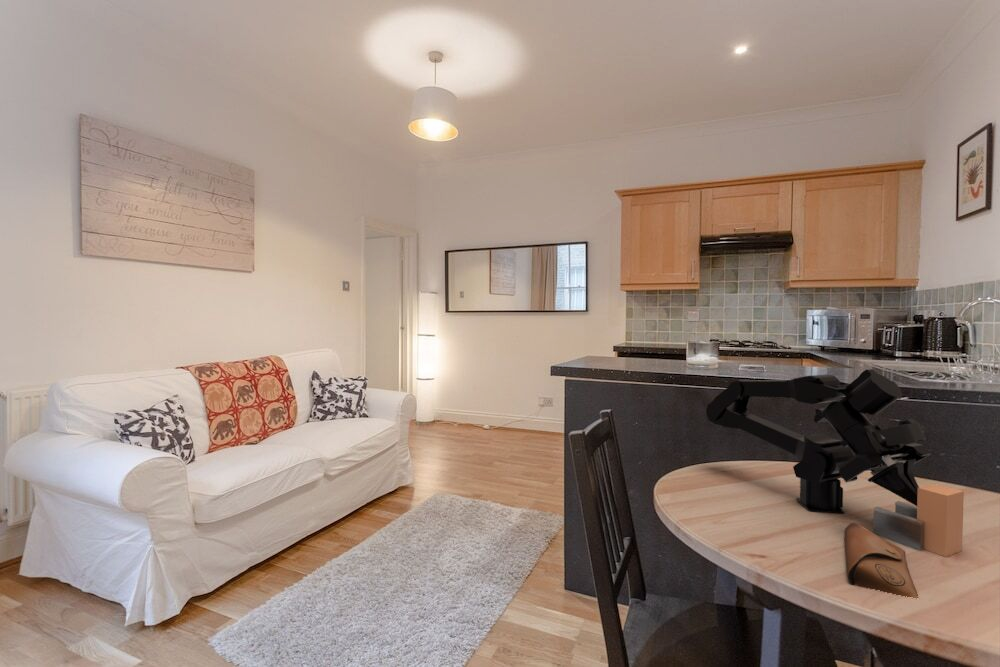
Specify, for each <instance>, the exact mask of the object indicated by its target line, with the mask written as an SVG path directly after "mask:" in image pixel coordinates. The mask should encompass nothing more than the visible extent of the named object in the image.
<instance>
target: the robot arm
mask: <svg viewBox="0 0 1000 667" xmlns="http://www.w3.org/2000/svg"><path fill="white" fill-rule="evenodd" d="M752 397H757V398H759V397H762V398H786V399H791V400H794V401H796V402H801V403H805V404H809V405H810V404H811V405H817V404H825V403H826V404H827V403H829V404H828V405H826V406H825V407H824V408H823V407H822V408H821V407H820V408H815V410H814V411H815V414H814V418H813V422H814V423H821V422H822V423H823V422H828V423H829V425H830V426H831V427H832V428H833V429H834V430H835V432H836V433H837V434H838V436H840V437H841V439H842V440H841V439H835V438H833V437H831V436H830V435H828V434H825V433H823V432H822V433H815V434H810V435H809V434H808V435H803V434H800V433H798V432H796V431H793V430H791V429H789V428H786V427H784V426H781V425H779V424H776V423H774V422H772V421H769V420H767V419H766V418H765V419H764V418H763V417H759V416H758V415H755V414H753V413H752V412H750V410H749V409H748V407H749V405H750V402H751V398H752ZM842 397H843V398H842ZM901 397H903V392H902V389H901V387H899V385H898V384H897V383H896V382H895V381H893V380H891V379H889V378H888V377H886V376H884V375H883V374H879V373H877V372H876V371H875V369H870V368H869V369H865V370H863V371H862V372H861V373H860V374H859V375H858V376H857V378H855V379H854V380H853V381H852V382H850V383H849V382H843V381H840V380H839V378H837V377H836V376H835V375H833V374H814V375H805V376H800V377H795V378H791V379H788V380H787V379H786V380H785V379H784V380H780V379H779V380H778V379H776V380H775V379H774V380H773V379H771V380H767V379H766V380H764V379H763V380H762V379H761V380H750V379H735V380H733V381H731V382H730V383H729V385H728V386H727V387H726V389H724V390H723V391H722V392H720V393H719V394H718V395H717V396H715V397H714V398H713V399H712V401H711V402H709V403H708V404H707V405H706V411H705V412H706V413H705V414H706V416H707V420H708V422H710V423H711V424H713V425H715V426H719V427H723V428H730V429H736V430H740V431H742V432H745V433H747V434H749V435H751V436H752V437H755V438H757V439H760V440H761V441H764V442H766V443H767V444H770V445H772V446H775V447H776V448H778V449H781V450H783V451H786V452H788V453H790V454H792V455H793V456H795V457H796V458H797V460H798V461H799V462H798V463H796V464H795V465H793V467H792V468H793V471H794V475H795V477H796V478H798V479H799V480H800V481H799V497H796V502H798V503H799V504H800V505H801V506H802V507H803V508H805V509H806V510H807V511H808V512H812V513H827V514H839V515H844V514H845V511H844V510H843V509H842V508H843V507H844V488H843V487H842V485H841V482H842V481H841V479H843V481H844V482H845V483H850V482H855V481H857V480H858V476H859V475H862V474H863V473H864V472H867V471H870V474H871V475H872V476H870V477H869V478H868V479H867V481H868V482H869V483H874V484H875V485H877V486H879V487H881V488H882V489H885V490H886V491H889V492H890V493H892V494H894V495H896V496H898V497H900V498H901V499H903V500H905V501H907V502H908V503H909V504H911V505H914V506H917V494H918V488H919V485H918V482H917V480H916V478H915V475H914V472H913V471H914V466H915V464H917V463H919V462H921V461H922V460H923V459H926V458H927V457H929V456H930V455H931V454H932V452H931V451H930V450H929V449H928V448H927V447H926V446H925V445H924V444H921V443H918V442H924V441H927V439H926V437H925V432H926V430H927V429H926V427H925V426H922V425H921V422H917V421H916V420H915V419H914V418H907V419H904V420H899V422H898V425H897V426H893V427H888V428H885V427H884V425H882V424H879V423H878V424H874V423H872V421H870V420H869V418H868V417H867V416H866V414H867V415H871V416H876V415H877V414H879V413H880V412H882V411H883V410H885V409H886V408H887V407H889V406H890V405H892V404H893V403H895V402H896V401H897V400H899V399H900V398H901ZM840 398H842V399H841V400H839V399H840ZM838 400H839V401H838ZM854 454H855V455H854Z"/></svg>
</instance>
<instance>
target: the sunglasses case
mask: <svg viewBox="0 0 1000 667" xmlns="http://www.w3.org/2000/svg"><path fill="white" fill-rule="evenodd" d="M843 535H844V548H845V562H846V575H847V578H848V580H849V581H850V583H851V584H852V586H856V587H860V588H865V589H868V588H870V589H869V590H872V589H875V590H874V591H877V590H880V591H879V592H881V591H883V592H882V593H885V592H887V593H886V594H889V593H892V594H891V595H894V594H896V595H895V596H898V595H901V596H900V597H903V596H905V597H904V598H908V597H913V598H916V599H917V598H919V594H918V592H917V589H916V586H915V583H914V582H913V579H912V576H911V573H910V569H909V566H908V562H907V559H906V551H905V550H904V549H903V548H902V547H899V546H898V545H896V544H894V543H891V542H890V541H887V539H886V540H885V538H883V537H881V536H878V535H875V534H874V533H873V532H872V531H871V530H869V529H868V528H866V527H864V526H862V525H861V524H858V523H856V522H852V523H850V524H848V525H846V527H845V528H844V533H843ZM906 596H907V597H906ZM913 598H912V599H913ZM916 599H915V600H916Z"/></svg>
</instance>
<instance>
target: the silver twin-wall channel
mask: <svg viewBox="0 0 1000 667" xmlns="http://www.w3.org/2000/svg"><path fill="white" fill-rule="evenodd" d="M894 503H895V504H894V505H895V506H894V507H895V508H894V509H895V510H894V511H892V510H888V509H885V508H882V507H880V506H876V507H875V506H874V507H873V532H872V533H874V534H875V535H877V536H878V537H880V538H882V539H886V540H889V541H892V542H895V543H897V544H900V545H903V546H905V547H909V548H911V549H914V550H917V551H919V552H922V551H924V550H925V549H924V524H925V522H924V521H921V520H918V519H917V506H916V505H914V504H911V503H906V502H903V501H899V500H897V501H894Z"/></svg>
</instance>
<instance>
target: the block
mask: <svg viewBox="0 0 1000 667" xmlns="http://www.w3.org/2000/svg"><path fill="white" fill-rule="evenodd" d="M964 496H965V491H964V490H961V489H956V488H952V487H948V486H945V485H940V484H938V483H937V484H936V483H932V484H927V485H923V486H920V487H919V488H918V494H917V519H918V520H921V521H924V522H925V524H924V550H926V551H928V552H931V553H934V554H937V555H940V556H941V557H945V558H947V557H949V556H952V555H955V554H958V553H960V552H963V536H964V534H963V530H964V498H965V497H964Z"/></svg>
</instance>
